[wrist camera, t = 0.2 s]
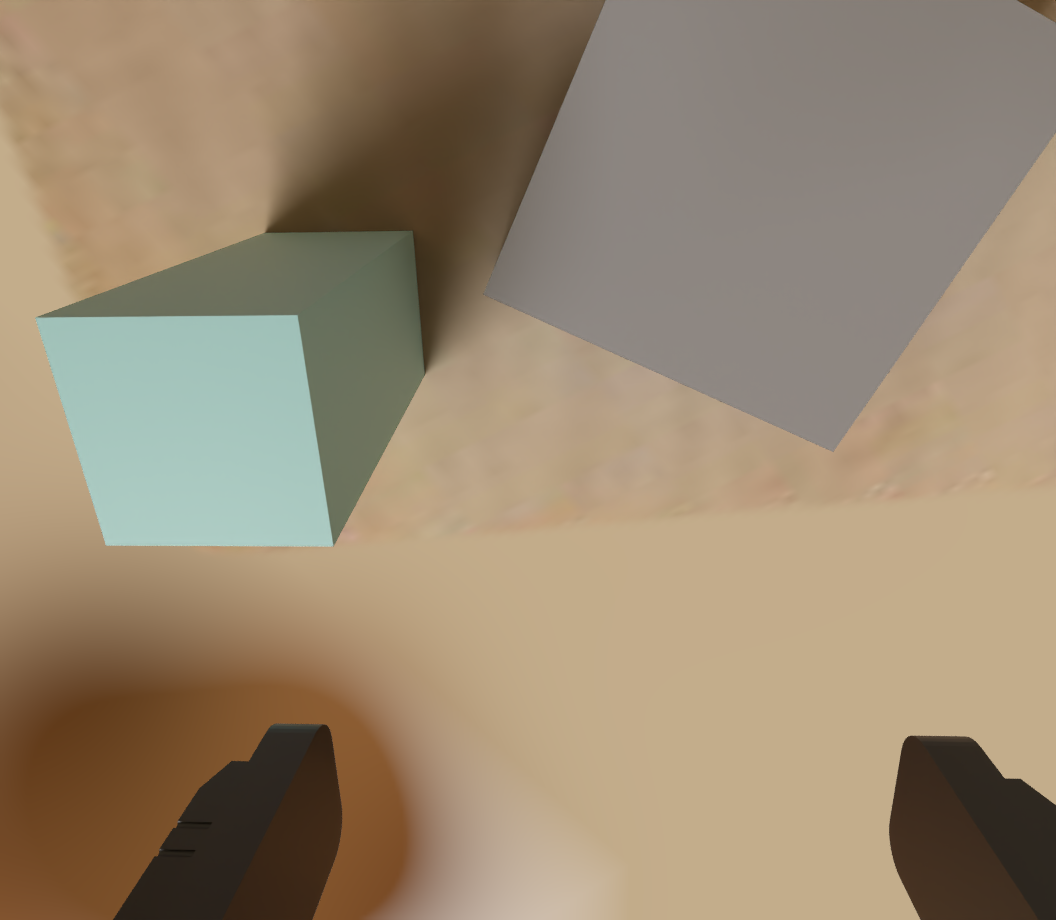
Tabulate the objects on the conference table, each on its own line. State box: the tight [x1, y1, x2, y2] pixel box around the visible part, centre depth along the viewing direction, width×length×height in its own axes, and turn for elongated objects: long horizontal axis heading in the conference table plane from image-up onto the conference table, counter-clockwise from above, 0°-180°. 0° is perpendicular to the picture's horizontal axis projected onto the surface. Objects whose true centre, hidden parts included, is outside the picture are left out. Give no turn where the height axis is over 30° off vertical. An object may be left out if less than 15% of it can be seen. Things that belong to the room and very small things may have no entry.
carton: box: [36, 231, 425, 546], centre depth 24 cm, size 6×6×14 cm
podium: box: [483, 0, 1056, 452], centre depth 25 cm, size 14×14×5 cm
